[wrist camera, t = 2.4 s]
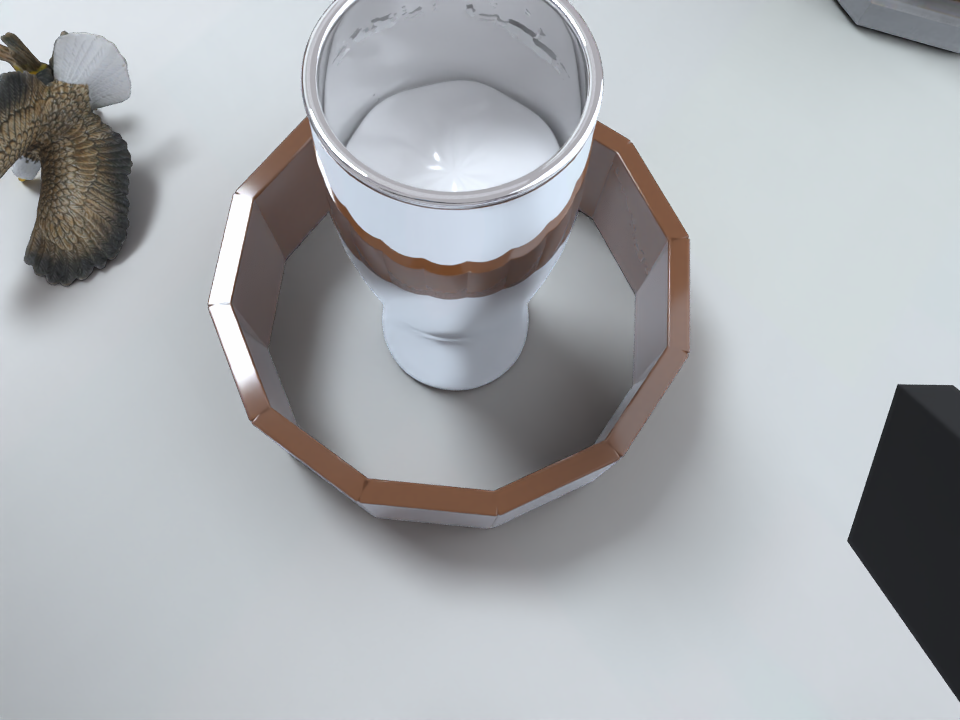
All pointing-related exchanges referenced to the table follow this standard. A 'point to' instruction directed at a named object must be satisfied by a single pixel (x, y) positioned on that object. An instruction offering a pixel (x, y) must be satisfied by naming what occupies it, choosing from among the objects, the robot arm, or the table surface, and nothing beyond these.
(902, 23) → the tankard
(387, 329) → the beer glass
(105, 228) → the eagle figurine
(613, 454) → the brown ring
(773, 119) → the table surface
